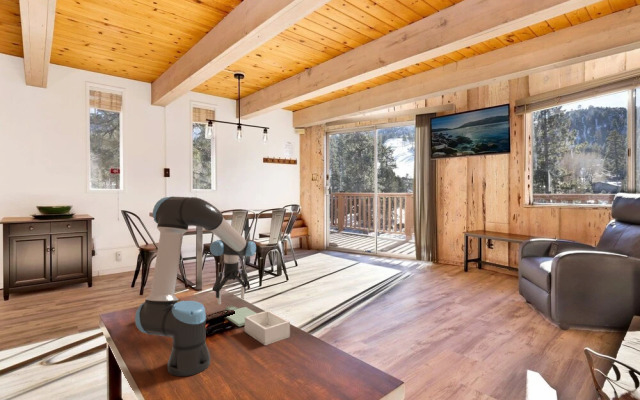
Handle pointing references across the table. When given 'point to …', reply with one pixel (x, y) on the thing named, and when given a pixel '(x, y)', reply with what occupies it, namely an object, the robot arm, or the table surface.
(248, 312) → the lid
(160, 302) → the robot arm
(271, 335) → the tub
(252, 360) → the table surface
